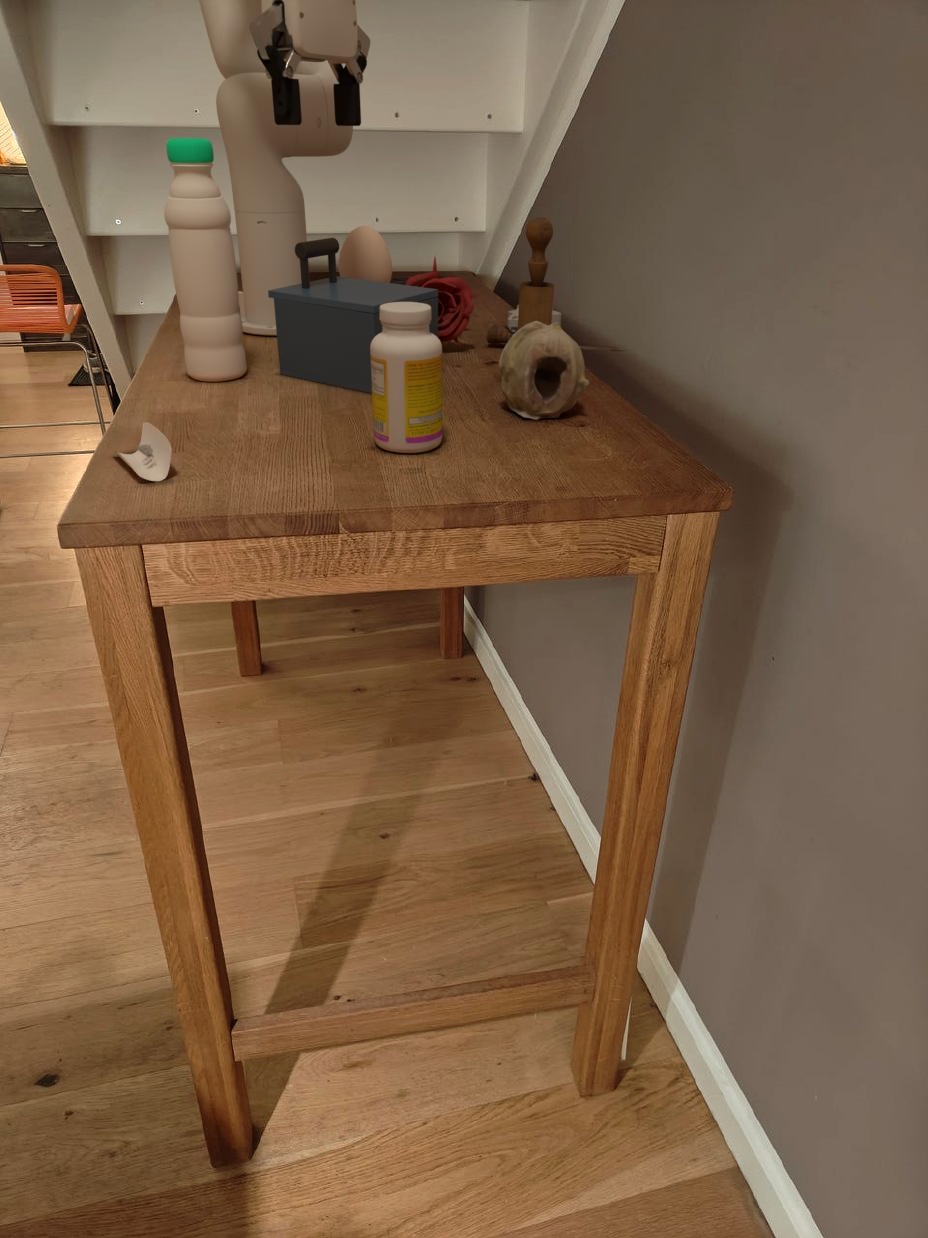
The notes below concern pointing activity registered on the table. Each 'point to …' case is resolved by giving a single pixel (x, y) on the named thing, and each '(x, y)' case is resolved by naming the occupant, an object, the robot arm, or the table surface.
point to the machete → (503, 335)
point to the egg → (365, 256)
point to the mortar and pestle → (537, 277)
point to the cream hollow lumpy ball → (542, 371)
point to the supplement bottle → (406, 380)
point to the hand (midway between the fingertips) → (319, 125)
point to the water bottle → (203, 265)
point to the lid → (344, 284)
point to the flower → (448, 302)
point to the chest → (330, 342)
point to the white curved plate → (150, 454)
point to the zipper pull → (513, 319)
